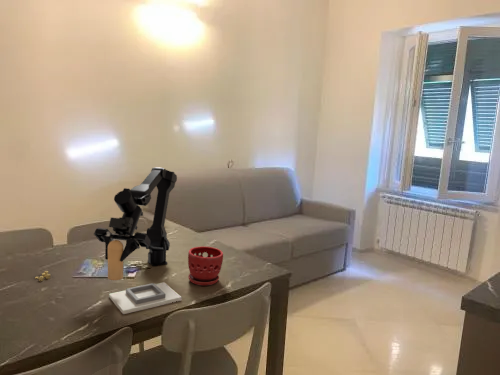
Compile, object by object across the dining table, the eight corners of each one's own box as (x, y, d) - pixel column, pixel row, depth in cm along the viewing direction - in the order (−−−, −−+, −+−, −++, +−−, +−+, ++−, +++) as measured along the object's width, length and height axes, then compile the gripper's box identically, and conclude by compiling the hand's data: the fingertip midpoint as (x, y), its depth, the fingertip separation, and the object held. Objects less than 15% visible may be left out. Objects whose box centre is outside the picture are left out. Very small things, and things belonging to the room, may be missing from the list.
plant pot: (194, 290, 148) (195, 258, 146) (182, 277, 159) (183, 247, 157) (227, 285, 154) (228, 254, 152) (213, 272, 165) (215, 244, 163)
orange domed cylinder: (118, 273, 142) (118, 237, 139) (126, 277, 138) (126, 240, 136) (104, 277, 138) (104, 240, 136) (112, 281, 135) (112, 243, 132)
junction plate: (164, 285, 150) (164, 278, 150) (181, 300, 139) (181, 292, 139) (109, 297, 139) (109, 289, 138) (123, 314, 128) (123, 306, 127)
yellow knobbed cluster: (47, 275, 155) (47, 270, 154) (53, 279, 152) (53, 274, 151) (33, 279, 151) (33, 274, 151) (39, 283, 148) (39, 278, 147)
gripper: (96, 204, 140) (77, 245, 131) (147, 210, 136) (131, 252, 127) (108, 221, 149) (91, 260, 140) (156, 227, 145) (142, 267, 136)
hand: (113, 260), depth 136 cm, fingers closed on orange domed cylinder, 5 cm apart
